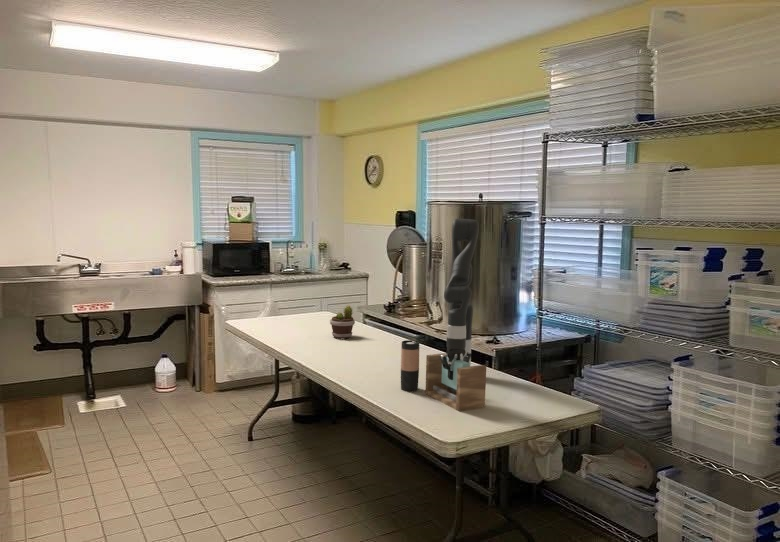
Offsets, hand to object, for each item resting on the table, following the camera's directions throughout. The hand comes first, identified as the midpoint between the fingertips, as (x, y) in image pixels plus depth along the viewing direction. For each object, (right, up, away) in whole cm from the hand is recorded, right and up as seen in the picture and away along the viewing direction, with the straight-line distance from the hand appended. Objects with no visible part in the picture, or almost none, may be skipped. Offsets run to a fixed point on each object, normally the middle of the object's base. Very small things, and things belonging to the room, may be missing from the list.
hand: (454, 378), depth 233 cm
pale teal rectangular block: (0, -3, 0) cm, 3 cm away
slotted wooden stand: (0, -9, +1) cm, 9 cm away
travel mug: (-18, -7, +14) cm, 24 cm away
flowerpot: (-54, +3, +113) cm, 126 cm away
